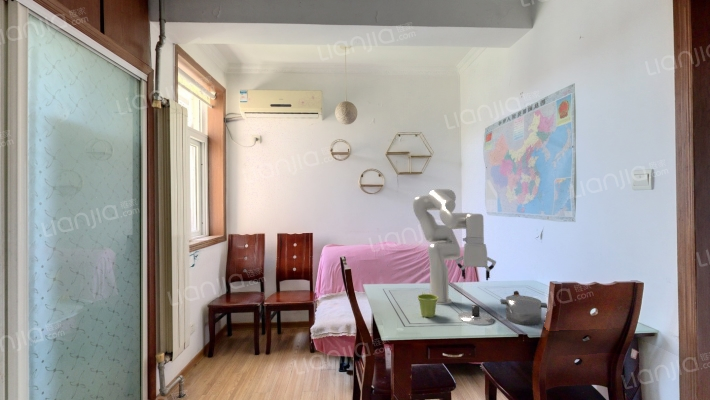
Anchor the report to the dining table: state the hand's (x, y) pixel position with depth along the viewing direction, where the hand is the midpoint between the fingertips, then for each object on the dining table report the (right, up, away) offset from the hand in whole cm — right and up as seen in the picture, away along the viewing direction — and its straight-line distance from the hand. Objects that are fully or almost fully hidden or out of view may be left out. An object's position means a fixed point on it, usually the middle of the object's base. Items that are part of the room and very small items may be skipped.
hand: (475, 279), depth 148 cm
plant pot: (-20, -18, +5) cm, 28 cm away
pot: (+21, -18, -2) cm, 27 cm away
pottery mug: (+28, -18, +15) cm, 37 cm away
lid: (0, -18, 0) cm, 18 cm away
